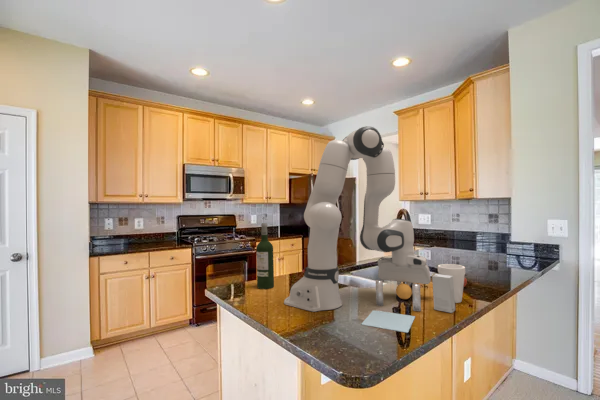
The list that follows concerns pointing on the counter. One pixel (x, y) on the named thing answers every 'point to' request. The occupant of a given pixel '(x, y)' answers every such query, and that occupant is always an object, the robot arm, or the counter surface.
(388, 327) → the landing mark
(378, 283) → the left post
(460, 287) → the foam cup
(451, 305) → the skincare box
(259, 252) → the wine bottle
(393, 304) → the counter surface
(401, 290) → the ball
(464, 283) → the pomegranate
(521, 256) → the counter surface
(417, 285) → the right post
